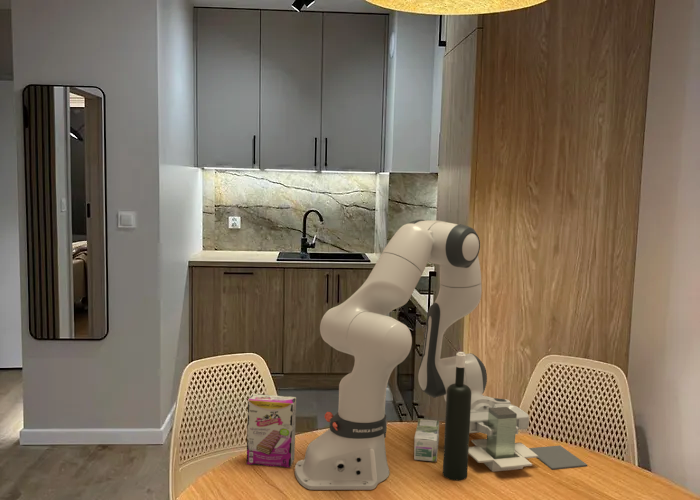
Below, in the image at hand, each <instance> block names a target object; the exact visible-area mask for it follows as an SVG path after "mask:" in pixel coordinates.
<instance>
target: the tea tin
mask: <svg viewBox="0 0 700 500" xmlns="http://www.w3.org/2000/svg"><path fill="white" fill-rule="evenodd" d="M516 418H517V414H516V413H515V412H513V411H512V410H510V409H509V408H508V407H497V408H489V413H488V427H493V428H494V429H495V436H488V435H487V434H486V439H487V447H486V452H487V453H488V454H489V455H490V456H491V457H492V458H493V459H503V458H514V449H515V443H516V434H515V433H516Z"/></svg>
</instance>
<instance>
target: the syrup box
mask: <svg viewBox="0 0 700 500" xmlns="http://www.w3.org/2000/svg"><path fill="white" fill-rule="evenodd" d="M417 419H418V420H417V424H416V430H415V433H414V438H413V439H414V441H413V443H414V447H413V448H414V450H413V454H414V455H413V456H414V457H413V458H414V461H426V462H437V459H438V451H439V443H440V420H438V419H437V420H436V419H423V418H417Z"/></svg>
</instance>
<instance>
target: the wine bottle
mask: <svg viewBox="0 0 700 500" xmlns="http://www.w3.org/2000/svg"><path fill="white" fill-rule="evenodd" d="M465 354H466V352H465V351H457V352H456V355H455V356H456V379H455V383H454V384H451V385H450V386H449V387H448V388H447V396H446V401H445V421H444V438H443V439H444V441H443V442H444V444H443V463H442V476H444V478H446V479H447V480H452V481H463V480H466V479H467V478H468V469H469V468H468V465H469V453H468V450H469V447H470V446H469V445H470V433H469V431H470V412H471V389H470V388H469V387H468V386H467V385H465V384H464V368H465V357H466V355H465Z"/></svg>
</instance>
